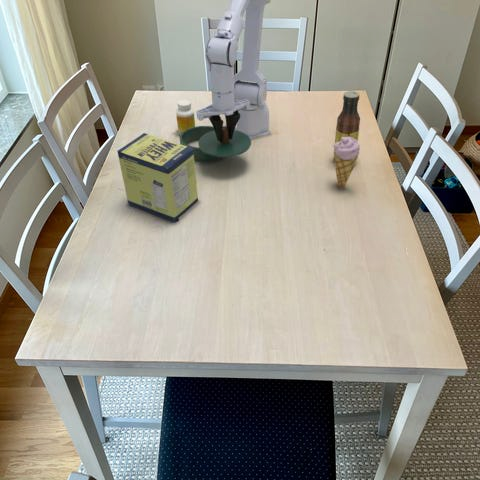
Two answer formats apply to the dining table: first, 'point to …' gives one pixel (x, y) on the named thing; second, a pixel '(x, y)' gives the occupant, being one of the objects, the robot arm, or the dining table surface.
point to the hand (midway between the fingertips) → (224, 139)
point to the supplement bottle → (185, 116)
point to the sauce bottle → (348, 118)
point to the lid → (224, 143)
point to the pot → (195, 135)
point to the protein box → (159, 176)
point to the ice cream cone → (345, 158)
